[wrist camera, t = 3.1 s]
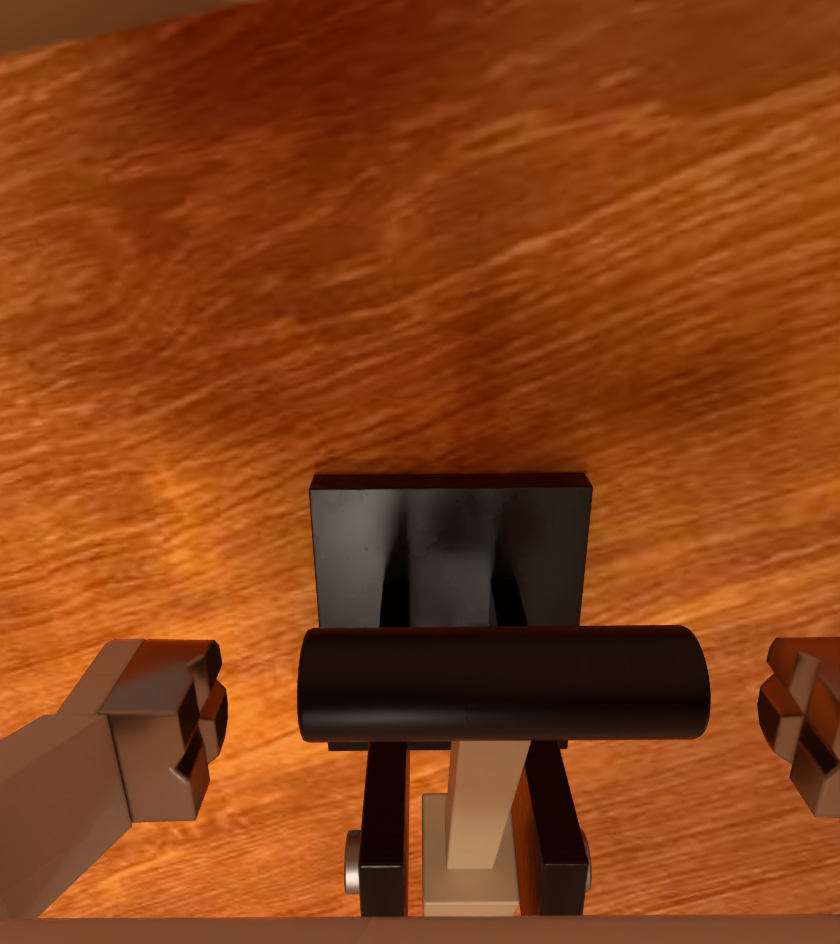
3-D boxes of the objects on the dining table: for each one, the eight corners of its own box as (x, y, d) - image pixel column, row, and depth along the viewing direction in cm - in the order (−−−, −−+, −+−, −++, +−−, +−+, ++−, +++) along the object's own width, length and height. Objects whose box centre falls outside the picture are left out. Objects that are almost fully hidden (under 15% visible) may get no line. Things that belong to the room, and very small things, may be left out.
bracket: (313, 474, 25) (220, 728, 13) (585, 472, 25) (736, 724, 13) (331, 728, 30) (274, 1087, 18) (561, 726, 30) (657, 1084, 18)
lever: (307, 582, 10) (287, 748, 8) (682, 579, 10) (734, 743, 8) (363, 825, 19) (358, 928, 17) (560, 824, 19) (574, 926, 17)
